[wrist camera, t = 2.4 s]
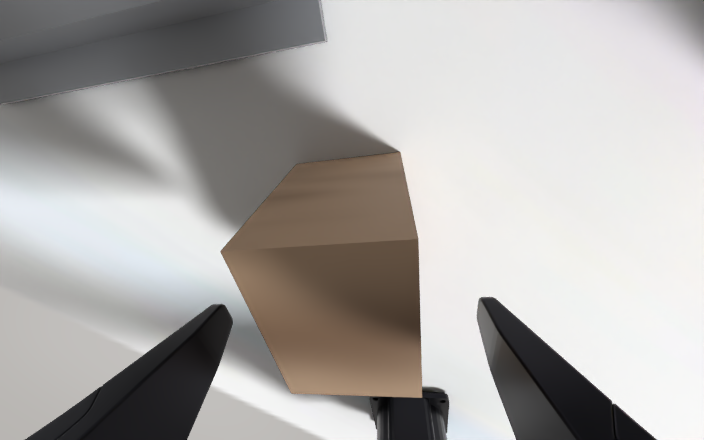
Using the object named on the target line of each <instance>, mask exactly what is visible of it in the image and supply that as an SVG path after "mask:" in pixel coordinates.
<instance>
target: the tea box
mask: <svg viewBox="0 0 704 440" xmlns="http://www.w3.org/2000/svg"><path fill="white" fill-rule="evenodd" d="M220 252H221V254H222V256H223V258H224V260H225V262H226V264H227V266H228V268H229V270H230V272H231V274H232V276H233V278H234V280H235V282H236V284H237V286H238V288H239V290H240V292H241V294H242V296H243V298H244V300H245V302H246V304H247V306H248V308H249V310H250V312H251V314H252V316H253V318H254V320H255V322H256V324H257V326H258V328H259V330H260V332H261V334H262V336H263V338H264V340H265V342H266V344H267V346H268V348H269V350H270V352H271V354H272V356H273V358H274V360H275V362H276V364H277V366H278V368H279V370H280V372H281V374H282V376H283V378H284V380H285V382H286V384H287V386H288V388H289V390H290V392H291V393H293V394H323V395H353V396H382V397H412V398H422V369H421V329H420V290H419V250H418V236H417V231H416V226H415V221H414V216H413V211H412V206H411V202H410V197H409V192H408V187H407V182H406V177H405V173H404V168H403V163H402V158H401V153H400V152H395V153H387V154H378V155H370V156H361V157H353V158H344V159H335V160H327V161H318V162H310V163H301V164H296V165H295V166H294V167H293V169H292V170H291V171H290V172H289V173H288V174H287V176H286V177H285V178H284V179H283V180H282V181H281V182H280V184H279V185H278V186H277V187H276V188H275V189H274V190H273V192H272V193H271V194H270V195H269V196H268V197H267V198H266V200H265V201H264V202H263V203H262V204H261V205H260V206H259V208H258V209H257V210H256V211H255V212H254V213H253V215H252V216H251V217H250V218H249V219H248V220H247V221H246V223H245V224H244V225H243V226H242V227H241V228H240V229H239V231H238V232H237V233H236V234H235V235H234V236H233V237H232V239H231V240H230V241H229V242H228V243H227V244H226V246H225V247H224V248H223V249H222V250H221V251H220Z"/></svg>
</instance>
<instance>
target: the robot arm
mask: <svg viewBox="0 0 704 440" xmlns="http://www.w3.org/2000/svg"><path fill="white" fill-rule="evenodd" d="M477 321H478V325H479V329H480V333H481V337H482V341H483V345H484V348H485V352H486V356H487V360H488V364H489V367H490V371H491V374H492V376H493V379H494V382H495V385H496V387H497V390H498V392H499V395H500V398H501V400H502V403H503V406H504V408H505V411H506V414H507V416H508V419H509V421H510V424H511V427H512V429H513V432H514V435H515V437H516V440H657V439H655V438H654V437H653V436H652V435H651V434H650V433H648V432H647V431H646V430H645V429H644V428H643V427H641V426H640V425H639V424H638V423H637V422H635V421H634V420H633V419H632V418H631V417H630V416H629V415H627V414H626V413H625V412H624V411H623V410H622V409H621V408H619V407H618V406H617V405H616V404H612V401H611V400H610V399H609V398H608V397H607V396H606V395H604V394H603V393H602V392H601V391H600V390H599V389H598V388H597V387H595V386H594V385H593V384H592V383H591V382H590V381H589V380H587V379H586V378H585V377H584V376H583V375H582V374H581V373H579V372H578V371H577V370H576V369H575V368H574V367H573V366H572V365H570V364H569V363H568V362H567V361H566V360H565V359H564V358H562V357H561V356H560V355H559V354H558V353H557V352H556V351H554V350H553V349H552V348H551V347H550V346H549V345H548V344H546V343H545V342H544V341H543V340H542V339H541V338H540V337H539V336H537V335H536V334H535V333H534V332H533V331H532V330H531V329H529V328H528V327H527V326H526V325H525V324H524V323H523V322H521V321H520V320H519V319H518V318H517V317H516V316H515V315H513V314H512V313H511V312H510V311H509V310H508V309H507V308H506V307H504V306H503V305H502V304H501V303H500V302H499V301H498V300H496V299H495V298H493V297H481V298H480V299H479V302H478V309H477ZM232 324H233V320H232V317H231V315H230V313H229V312H228V310H227V308H226V306H225V305H223V304H214V305H211V306H210V307H208V308H207V309H206V310H204V311H203V312H202V313H200V314H199V315H198V316H196V317H195V318H194V319H192V320H191V321H189V322H188V323H187V324H185V325H184V326H183V327H181V328H180V329H179V330H177V331H176V332H174V333H173V334H172V335H170V336H169V337H168V338H166V339H165V340H164V341H162V342H161V343H159V344H158V345H157V346H155V347H154V348H153V349H151V350H150V351H149V352H147V353H146V354H144V355H143V356H142V357H140V358H139V359H138V360H136V361H135V362H134V363H132V364H131V365H129V366H128V367H127V368H125V369H124V370H123V371H122V372H120V373H119V374H117V375H116V376H114V377H113V378H112V379H110V380H109V381H108V382H106V383H105V384H104V385H103V386H102V387H99V388H98V389H97V390H95V391H94V392H93V393H91V394H90V395H89V396H87V397H86V398H85V399H83V400H82V401H80V402H79V403H77V404H76V405H75V406H73V407H72V408H70V409H69V410H68V411H66V412H65V413H63V414H62V415H61V416H59V417H58V418H56V419H55V420H53V421H52V422H50V423H49V424H47V425H46V426H44V427H43V428H42V429H40V430H39V431H37V432H36V433H34V434H33V435H31V436H30V437H28V438H27V439H25V440H187V438H188V436H189V433H190V431H191V429H192V427H193V424H194V422H195V420H196V418H197V415H198V413H199V411H200V408H201V406H202V404H203V401H204V399H205V397H206V394H207V392H208V390H209V388H210V385H211V383H212V381H213V378H214V376H215V374H216V371H217V369H218V366H219V364H220V361H221V358H222V355H223V352H224V349H225V346H226V343H227V340H228V337H229V334H230V331H231V328H232ZM370 403H371V407H372V412H373V416H374V421H375V425H376V429H377V440H447V437H446V433H447V424H448V410H449V399H448V395H447V394H445V393H425V392H422V398H412V397H382V396H370Z"/></svg>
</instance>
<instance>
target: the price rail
mask: <svg viewBox="0 0 704 440" xmlns="http://www.w3.org/2000/svg"><path fill="white" fill-rule="evenodd" d="M323 42H327V35H326V29H325V23H324V17H323V11H322V5H321V0H0V105H1V104H9V103H14V102H19V101H24V100H30V99H35V98H40V97H45V96H50V95H55V94H60V93H66V92H71V91H76V90H81V89H86V88H91V87H97V86H102V85H107V84H112V83H117V82H122V81H128V80H133V79H138V78H143V77H148V76H153V75H158V74H164V73H169V72H174V71H179V70H184V69H189V68H195V67H200V66H205V65H210V64H215V63H220V62H226V61H231V60H236V59H241V58H246V57H251V56H256V55H262V54H267V53H272V52H277V51H282V50H287V49H293V48H298V47H303V46H308V45H313V44H318V43H323Z"/></svg>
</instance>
